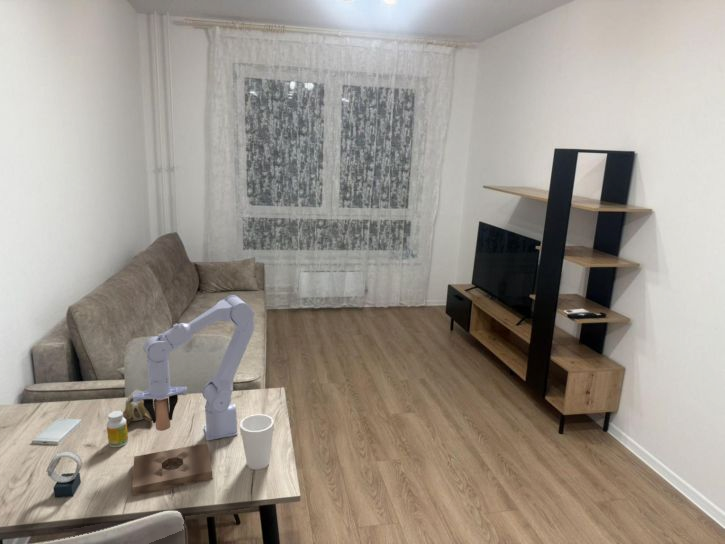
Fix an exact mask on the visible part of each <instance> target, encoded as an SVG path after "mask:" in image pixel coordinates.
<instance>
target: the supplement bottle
mask: <svg viewBox="0 0 725 544" xmlns="http://www.w3.org/2000/svg"><path fill="white" fill-rule="evenodd" d="M123 412H124V411H121V410H114V411H112V412H110V413H108V415H107V419H108V421H107V422H106V431H107V441H108V442H107V443H108V445H109V447H111V448H120V447H123V446H124V445H126V444H127V443H128V442H129V434H128V425H127V423H126V419H125V418H124V417H123Z"/></svg>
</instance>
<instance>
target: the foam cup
mask: <svg viewBox="0 0 725 544" xmlns="http://www.w3.org/2000/svg"><path fill="white" fill-rule="evenodd" d="M274 431H275V421H274V419H273V417H271V416H270V415H267V414H264V413H254V414H252V415H247V416H246V417H244V418H243V419H241V421H240V422H239V432H240V436H241V439H242V440H241V441H242V445H243V450H244V454H245V455H244V456H245V459H246V464H247V465H246V466H247V467H248V468H249V469H250V470H253V471H256V470H263V469H265V468H266V467H268V466H269V464H270V460H271V453H272V444H273V436H274Z"/></svg>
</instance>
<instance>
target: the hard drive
mask: <svg viewBox="0 0 725 544" xmlns="http://www.w3.org/2000/svg"><path fill="white" fill-rule="evenodd" d="M82 423H83V420H82V419H80V418H57V419H56V420H55V421H53V422H52V423H51V424H50V425H49V426H47V427H46V428H45V429H44V430H43V431H41V432H40V433H39V434H38V435H37V436H36V437H34V438H33V439H32V440H31V444H37V445H38V444H41V445H57V446H58V445H59V444H61V443H62V442H63V441H64V440H65V439H66V438H67V437H68V436H69V435H70V434H72V432H74V431H75V430H76V429H77V428H78V427H79V426H80V425H81V424H82Z"/></svg>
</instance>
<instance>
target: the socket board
mask: <svg viewBox="0 0 725 544" xmlns="http://www.w3.org/2000/svg"><path fill="white" fill-rule="evenodd" d="M171 466H179V467H178V468H174V469H170V470H168V469H167V468H169V467H171ZM210 480H213V468H212V461H211V455H210V451H209V444H208V442H205V443H199V444H195V445H189V446H184V447H179V448H178V447H177V448H174V449H168V450H162V451H157V452H151V453H146V454H140V455H135V456H133V470H132V482H131V483H132V484H131V485H132V487H131V489H132V496H133V497H134V496H138V495H144V494H148V493H152V492H157V491H162V490H165V489H166V490H167V489H172V488H177V487H181V486H186V485H187V486H188V485H191V484H196V483H200V482H204V481H206V482H207V481H210Z"/></svg>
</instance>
